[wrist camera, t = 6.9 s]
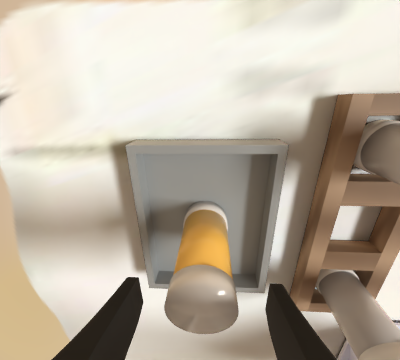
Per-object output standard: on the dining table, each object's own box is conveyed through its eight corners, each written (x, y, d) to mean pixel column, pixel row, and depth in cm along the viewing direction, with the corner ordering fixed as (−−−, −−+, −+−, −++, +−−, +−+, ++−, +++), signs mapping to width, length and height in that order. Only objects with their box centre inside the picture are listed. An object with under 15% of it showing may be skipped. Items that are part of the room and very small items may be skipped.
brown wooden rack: (357, 299, 20) (367, 314, 19) (289, 296, 21) (294, 310, 19) (449, 92, 13) (478, 92, 11) (338, 94, 13) (353, 94, 12)
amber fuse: (225, 236, 18) (236, 335, 10) (185, 235, 18) (167, 332, 10) (227, 201, 16) (240, 286, 9) (183, 200, 16) (161, 283, 9)
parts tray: (259, 275, 20) (264, 293, 18) (154, 271, 20) (149, 287, 19) (279, 139, 14) (288, 145, 13) (135, 139, 15) (125, 145, 13)
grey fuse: (344, 287, 20) (423, 399, 12) (308, 286, 20) (363, 395, 13) (355, 260, 18) (451, 368, 11) (315, 259, 19) (383, 364, 11)
